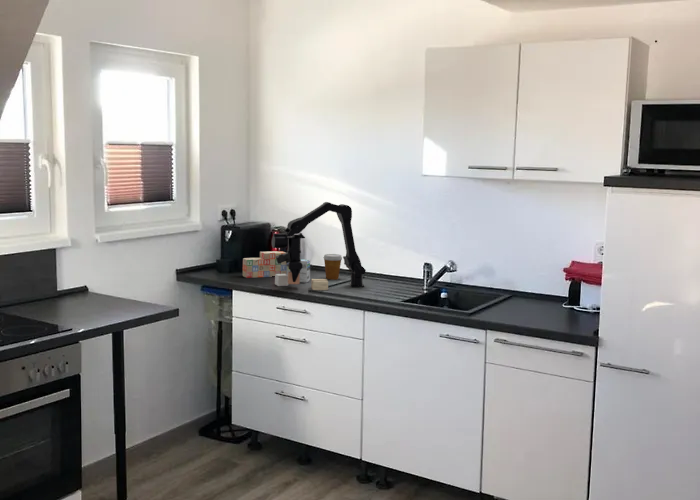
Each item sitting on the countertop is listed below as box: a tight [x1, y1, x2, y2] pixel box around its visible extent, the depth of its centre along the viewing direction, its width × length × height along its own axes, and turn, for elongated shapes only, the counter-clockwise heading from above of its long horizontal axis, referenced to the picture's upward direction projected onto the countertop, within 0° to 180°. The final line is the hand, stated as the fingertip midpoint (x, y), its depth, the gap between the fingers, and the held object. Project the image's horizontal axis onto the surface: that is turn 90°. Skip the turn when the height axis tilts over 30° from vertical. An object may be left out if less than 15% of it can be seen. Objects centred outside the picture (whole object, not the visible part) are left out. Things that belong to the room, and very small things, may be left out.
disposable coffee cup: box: [323, 253, 343, 281], centre depth 388 cm, size 10×10×12 cm
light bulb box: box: [286, 258, 311, 283], centre depth 378 cm, size 11×7×11 cm, turn 80°
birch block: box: [310, 278, 329, 291], centre depth 359 cm, size 7×7×4 cm
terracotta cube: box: [288, 272, 300, 285], centre depth 359 cm, size 5×5×5 cm
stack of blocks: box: [242, 250, 287, 279], centre depth 390 cm, size 21×6×12 cm, turn 116°
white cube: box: [274, 274, 289, 287], centre depth 366 cm, size 5×5×5 cm
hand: (293, 280), depth 359 cm, fingers closed on terracotta cube, 5 cm apart
